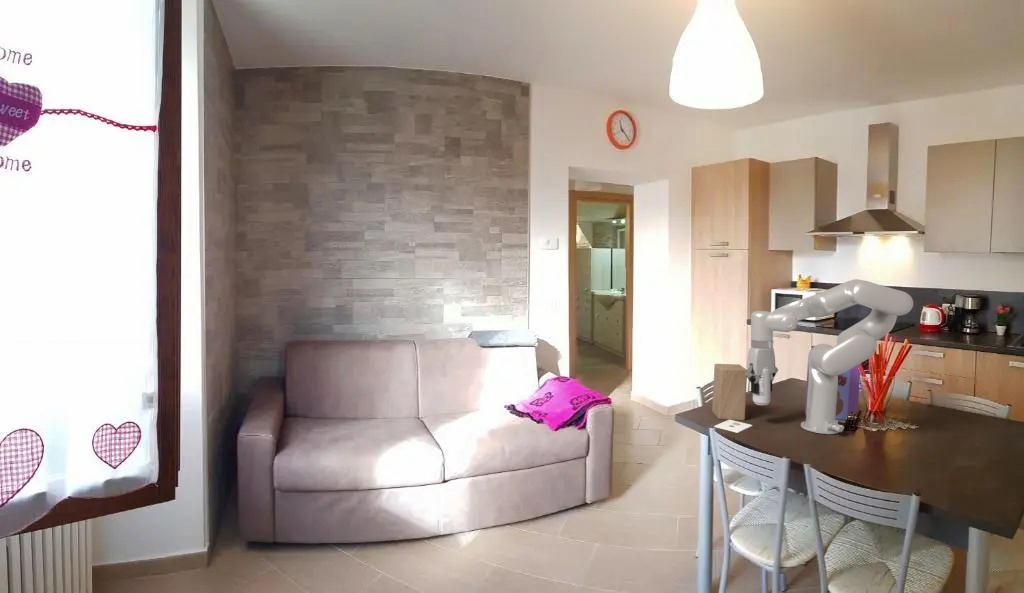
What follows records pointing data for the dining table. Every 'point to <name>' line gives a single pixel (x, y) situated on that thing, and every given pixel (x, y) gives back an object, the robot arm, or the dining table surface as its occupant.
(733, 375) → the wooden block
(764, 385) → the energy drink can
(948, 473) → the dining table surface
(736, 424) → the white printed card
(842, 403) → the cereal box
